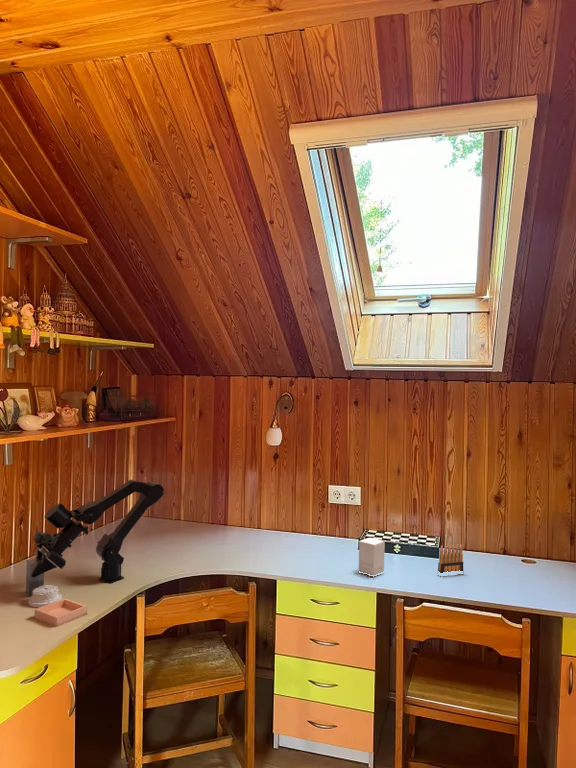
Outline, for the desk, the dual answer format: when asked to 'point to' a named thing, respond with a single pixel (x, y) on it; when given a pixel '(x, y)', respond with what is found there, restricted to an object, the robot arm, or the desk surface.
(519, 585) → the desk surface
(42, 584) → the graphite square block
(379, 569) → the supplement box
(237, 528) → the desk surface
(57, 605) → the terracotta bin
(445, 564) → the ammunition clip
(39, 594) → the mechanical component
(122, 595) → the desk surface
